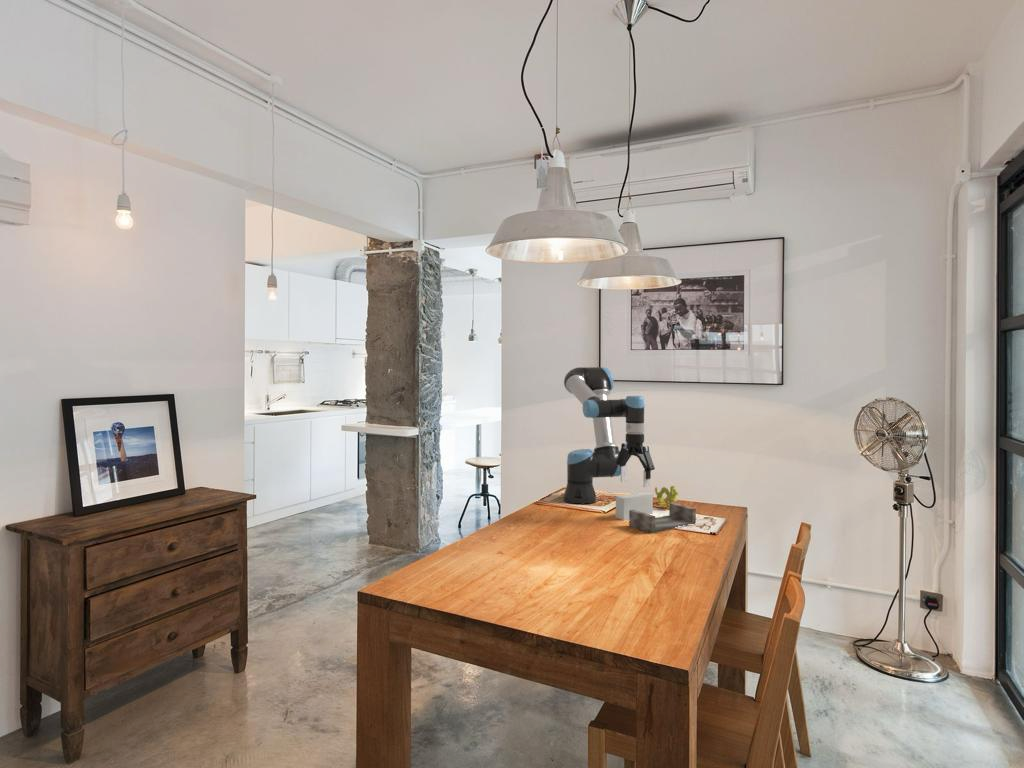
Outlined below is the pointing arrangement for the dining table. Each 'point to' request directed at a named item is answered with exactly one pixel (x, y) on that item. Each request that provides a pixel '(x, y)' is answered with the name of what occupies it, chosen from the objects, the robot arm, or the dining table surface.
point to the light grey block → (633, 504)
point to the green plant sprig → (670, 496)
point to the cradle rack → (663, 519)
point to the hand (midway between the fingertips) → (634, 484)
